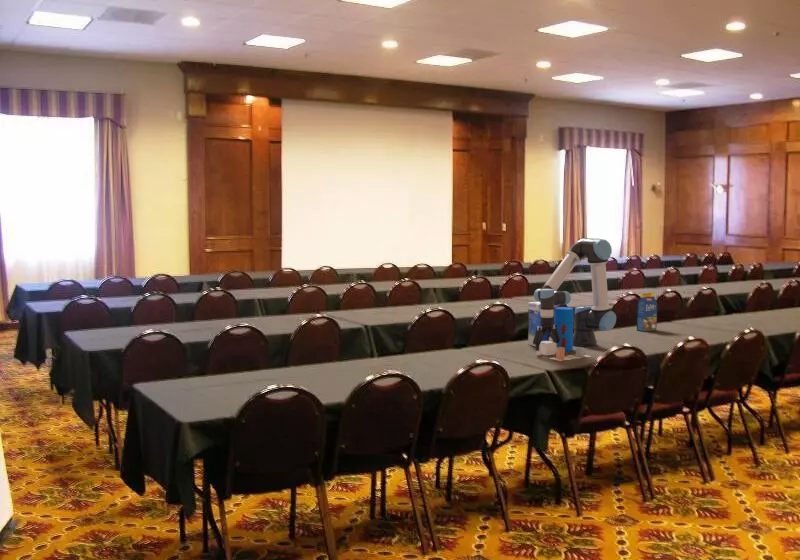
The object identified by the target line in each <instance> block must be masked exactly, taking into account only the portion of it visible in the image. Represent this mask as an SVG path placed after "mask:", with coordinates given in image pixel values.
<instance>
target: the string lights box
mask: <svg viewBox="0 0 800 560" xmlns="http://www.w3.org/2000/svg"><path fill="white" fill-rule="evenodd" d="M527 304H528V306H527V310H528V313H527V314H528V316H527V319H528V322H527V323H528V324H527V325H528V328H527V331H528V333H527V339H528V340H527V343H528V345H529V346H531V347H535V348H536V345H535V344H533V340H534V337H535V333H536V327H541V323H540V317H541V316H540V302H538V301H531V302H530V301H529V302H527ZM542 341H550V334H549V333H547V334H545V335H544V337H543V339H542Z"/></svg>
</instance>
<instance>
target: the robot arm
mask: <svg viewBox="0 0 800 560" xmlns="http://www.w3.org/2000/svg"><path fill="white" fill-rule="evenodd" d="M612 253H613V250H612V246H611V244H610V242H609V241H608V240H607V239H602V238H588V237H587V238H585V237H583V238H581V239H579V240H577V241H576V242H575V243H572V245H571V246H570V248H569V249H567V251H566V252H565V256H564V258H563V259H562V260H561V262H560V263H559V264H558V266H557V267H556V269H555V270H554V271H553V273H552V274H551V275H550V277H549V278H548V279H547V281H546V282H545V283H544V285H542V287H541V288H537V289H536V290H534V293H533V298H534V300H535V302H540V316H541V317H540V323H541V327H536V333H535V337H534V340H533V344H535V345H536V347H535V351H536V353H535V354H536V356H542V354H541V345H540V343H541V341H542V339H543V337H544V335H545V334H547V333H549V337H551V340H552V342H555V354H556V347H557V343H559V341H560V337H559V334H558V330H557V325H554V311H555V306H563V305H568V304H569V303H570V302H571V297H572V296H571V294H570V292H569V291H567V290H562V291H560V290H559V291H558V289H559V288H560V286H561V285H562V284H563V282H564V281H565V280H566V278H567V277H568V276H569V274H570V273H571V272H572V270H573V269H574V268H575V266H576V264H579V263H581V261H582V260H584V259H586V260H587V264H588V265H590V275H591V278H590V279H591V289H592V290H591V291H592V303H593V305H585V306H577V307H575V309H574V315H573V346H576V347H595V346H597V344H598V341H597V337H596V334H595V330H598V331H603V332H605V331H606V332H607V331H610V330H611V331H612V329H613V328H614V326H615V325H616V322H617V315H616V314H617V313H615V312H614V311H612V306H611V305H610V304H609V295H608V282H607V281H608V280H607V265H606V264H607V263H609V258H611V256H612Z"/></svg>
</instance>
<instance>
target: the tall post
mask: <svg viewBox="0 0 800 560" xmlns="http://www.w3.org/2000/svg"><path fill="white" fill-rule="evenodd" d="M565 353H566V352H565V348H564V347H556V353H555V357H556V358H557V359H565V356H566V355H565Z"/></svg>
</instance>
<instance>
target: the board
mask: <svg viewBox="0 0 800 560" xmlns="http://www.w3.org/2000/svg"><path fill="white" fill-rule="evenodd" d="M589 357H591V355H588V354H584V356H582V357H579V356H576V353H575V354H574V353H573V354H569V355H568V354H567V355H565V359H557V358H556V356H555V357H549V358H548V359H550V360H555V361H559V362H562V361H567V360H568V361H569V360H576V359H582V358H589Z"/></svg>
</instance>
